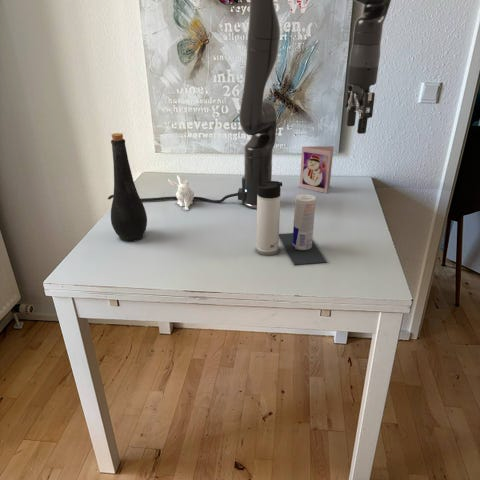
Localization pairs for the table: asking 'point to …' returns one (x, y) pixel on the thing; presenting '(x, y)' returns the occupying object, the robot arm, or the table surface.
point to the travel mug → (268, 217)
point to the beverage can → (303, 221)
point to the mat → (301, 252)
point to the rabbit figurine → (183, 193)
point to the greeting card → (316, 168)
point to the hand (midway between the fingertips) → (355, 129)
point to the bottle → (125, 196)
